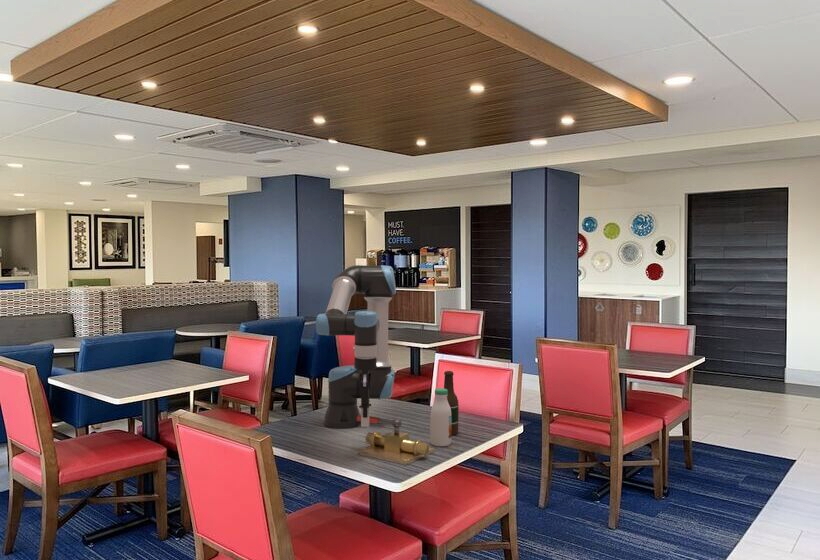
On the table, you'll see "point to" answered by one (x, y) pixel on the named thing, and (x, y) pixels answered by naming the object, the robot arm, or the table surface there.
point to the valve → (395, 447)
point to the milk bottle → (440, 419)
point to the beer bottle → (452, 400)
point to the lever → (382, 420)
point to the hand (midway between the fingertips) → (365, 426)
